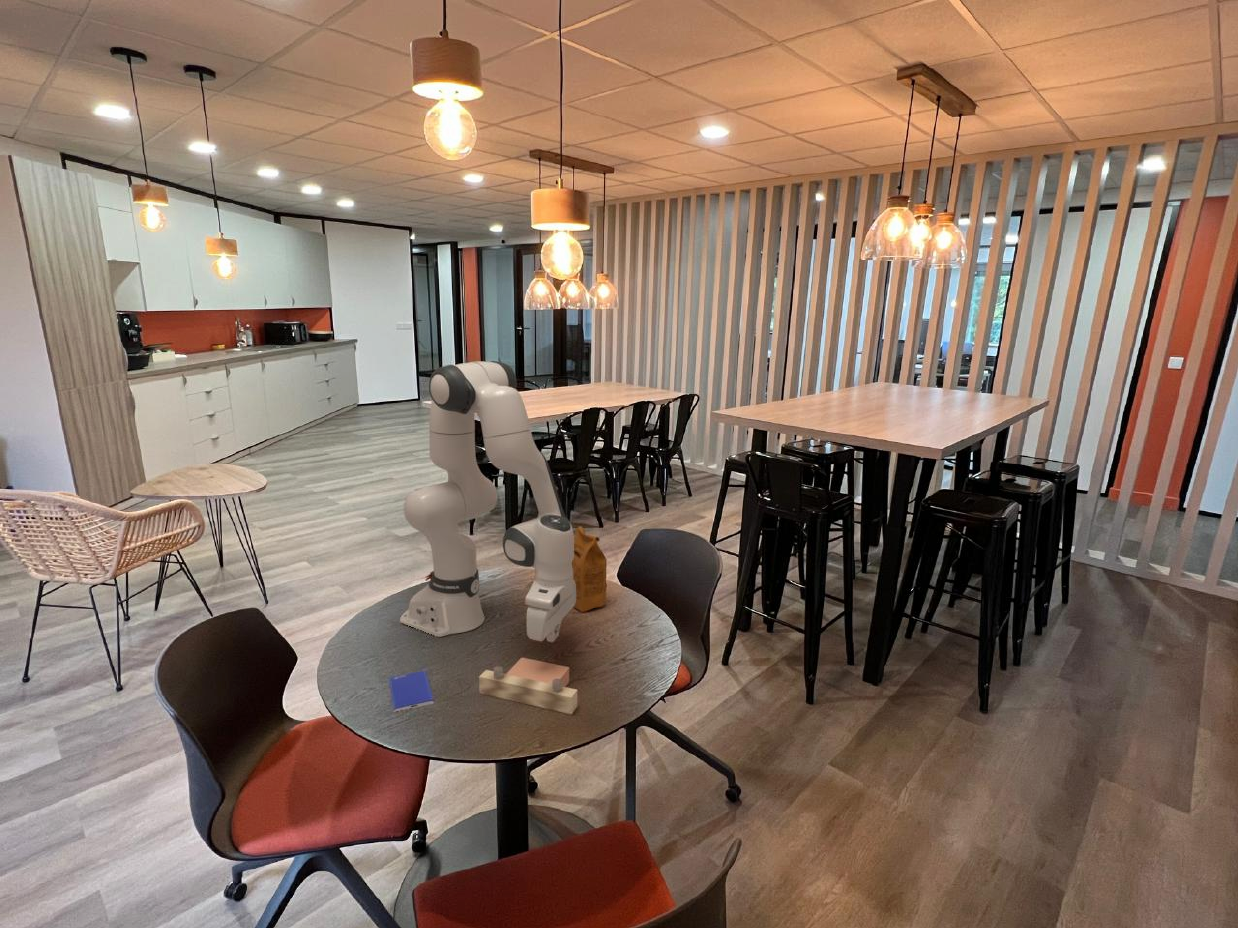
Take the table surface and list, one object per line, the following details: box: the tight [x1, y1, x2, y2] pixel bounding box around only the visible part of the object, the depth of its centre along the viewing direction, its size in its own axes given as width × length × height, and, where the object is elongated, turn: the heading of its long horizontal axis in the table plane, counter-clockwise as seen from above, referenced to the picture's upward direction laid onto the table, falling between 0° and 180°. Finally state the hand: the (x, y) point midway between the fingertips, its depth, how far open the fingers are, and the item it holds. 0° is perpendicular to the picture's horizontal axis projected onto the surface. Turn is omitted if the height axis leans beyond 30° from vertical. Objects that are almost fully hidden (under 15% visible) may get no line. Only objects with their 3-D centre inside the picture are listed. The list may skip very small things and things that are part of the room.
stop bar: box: [478, 665, 578, 715], centre depth 136 cm, size 22×3×6 cm, turn 71°
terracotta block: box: [506, 657, 570, 687], centre depth 142 cm, size 12×8×4 cm, turn 71°
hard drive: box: [388, 670, 435, 713], centre depth 139 cm, size 2×8×12 cm
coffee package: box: [572, 526, 608, 613], centre depth 181 cm, size 10×12×22 cm
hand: (552, 638), depth 149 cm, fingers closed
